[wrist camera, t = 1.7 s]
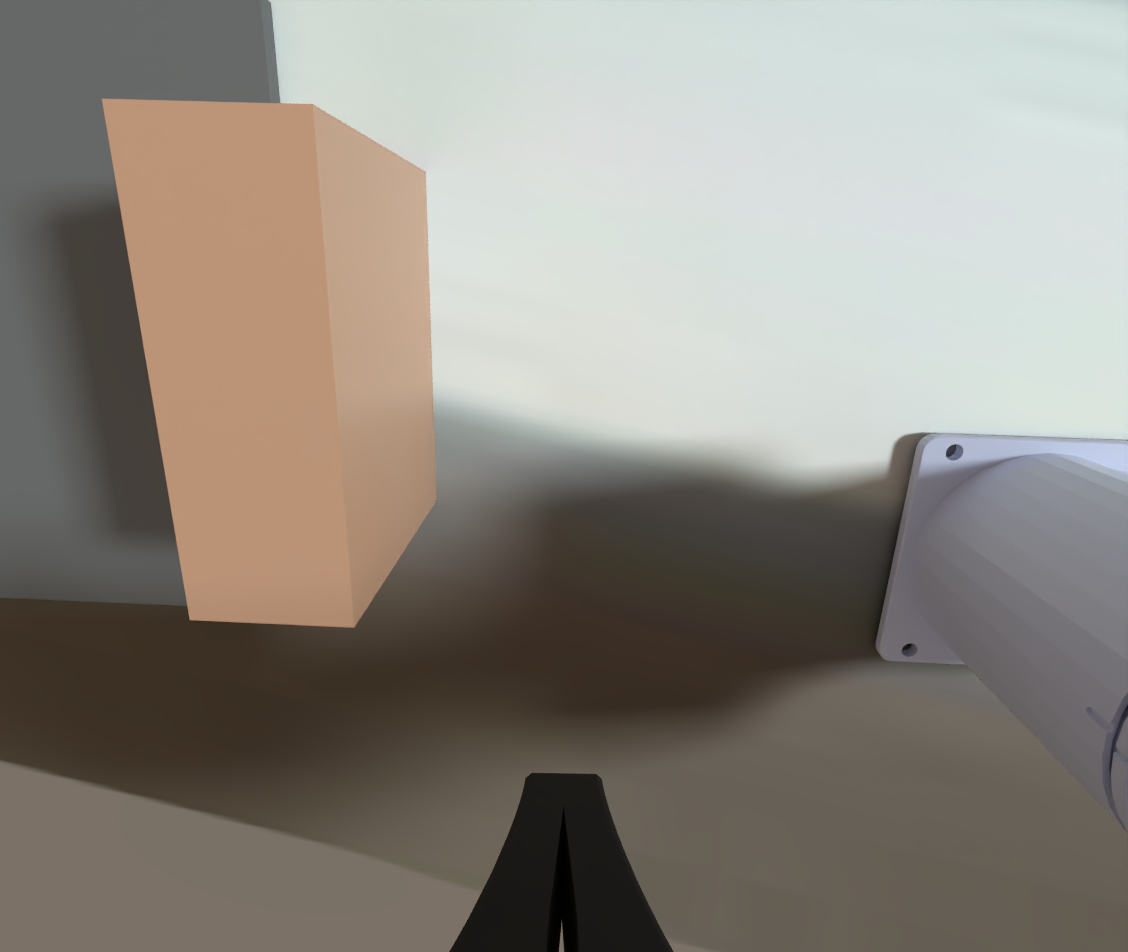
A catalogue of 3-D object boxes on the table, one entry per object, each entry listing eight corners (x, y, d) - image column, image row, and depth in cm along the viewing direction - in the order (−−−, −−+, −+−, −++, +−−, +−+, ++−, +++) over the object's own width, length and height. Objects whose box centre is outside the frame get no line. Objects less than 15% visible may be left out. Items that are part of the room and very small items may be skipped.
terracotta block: (425, 171, 18) (312, 103, 11) (436, 500, 21) (354, 627, 14) (301, 168, 18) (101, 99, 11) (329, 495, 22) (189, 620, 14)
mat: (270, 2, 17) (235, -28, 15) (326, 602, 23) (305, 630, 21) (-313, -12, 17) (-411, -43, 16) (-117, 583, 23) (-173, 609, 21)
